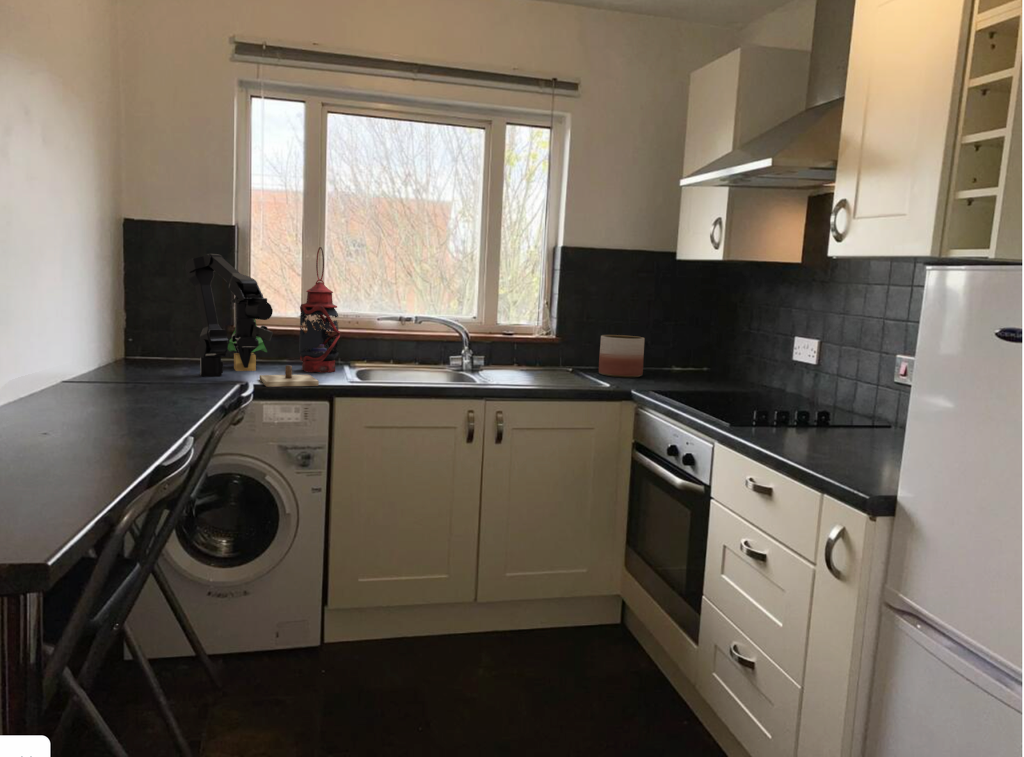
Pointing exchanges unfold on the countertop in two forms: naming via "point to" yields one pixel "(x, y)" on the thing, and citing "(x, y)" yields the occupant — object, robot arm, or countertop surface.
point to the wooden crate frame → (239, 365)
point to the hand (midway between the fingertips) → (244, 366)
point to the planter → (621, 356)
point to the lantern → (318, 328)
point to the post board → (288, 379)
